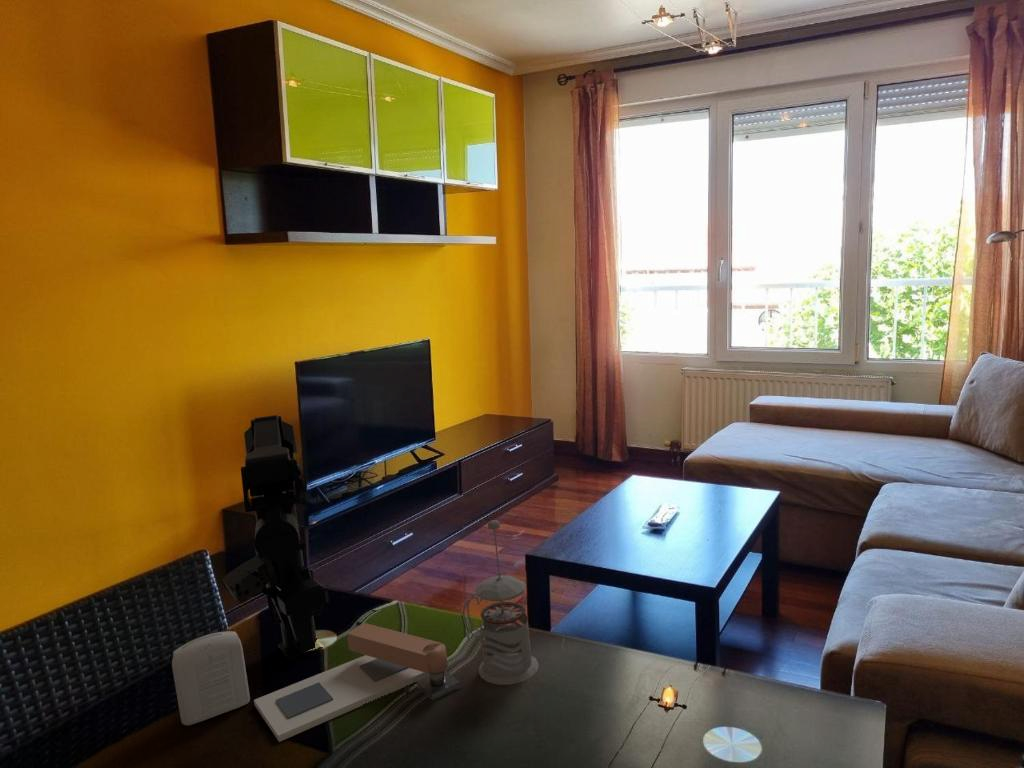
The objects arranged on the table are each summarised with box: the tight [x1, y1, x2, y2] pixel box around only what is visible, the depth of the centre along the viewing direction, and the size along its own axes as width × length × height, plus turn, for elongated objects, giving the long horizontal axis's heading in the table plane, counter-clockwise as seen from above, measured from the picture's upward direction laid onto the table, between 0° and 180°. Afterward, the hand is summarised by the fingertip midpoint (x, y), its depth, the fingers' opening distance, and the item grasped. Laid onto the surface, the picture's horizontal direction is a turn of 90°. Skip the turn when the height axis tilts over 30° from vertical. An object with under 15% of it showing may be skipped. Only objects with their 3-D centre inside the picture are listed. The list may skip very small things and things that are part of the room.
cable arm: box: [346, 622, 449, 673], centre depth 121 cm, size 19×4×3 cm, turn 57°
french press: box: [462, 519, 540, 686], centre depth 120 cm, size 10×12×25 cm
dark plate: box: [415, 669, 461, 702], centre depth 117 cm, size 5×5×3 cm
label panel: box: [253, 655, 429, 743], centre depth 119 cm, size 12×26×1 cm, turn 125°
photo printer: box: [171, 630, 251, 726], centre depth 116 cm, size 10×4×12 cm, turn 123°
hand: (294, 634), depth 114 cm, fingers open, 5 cm apart
